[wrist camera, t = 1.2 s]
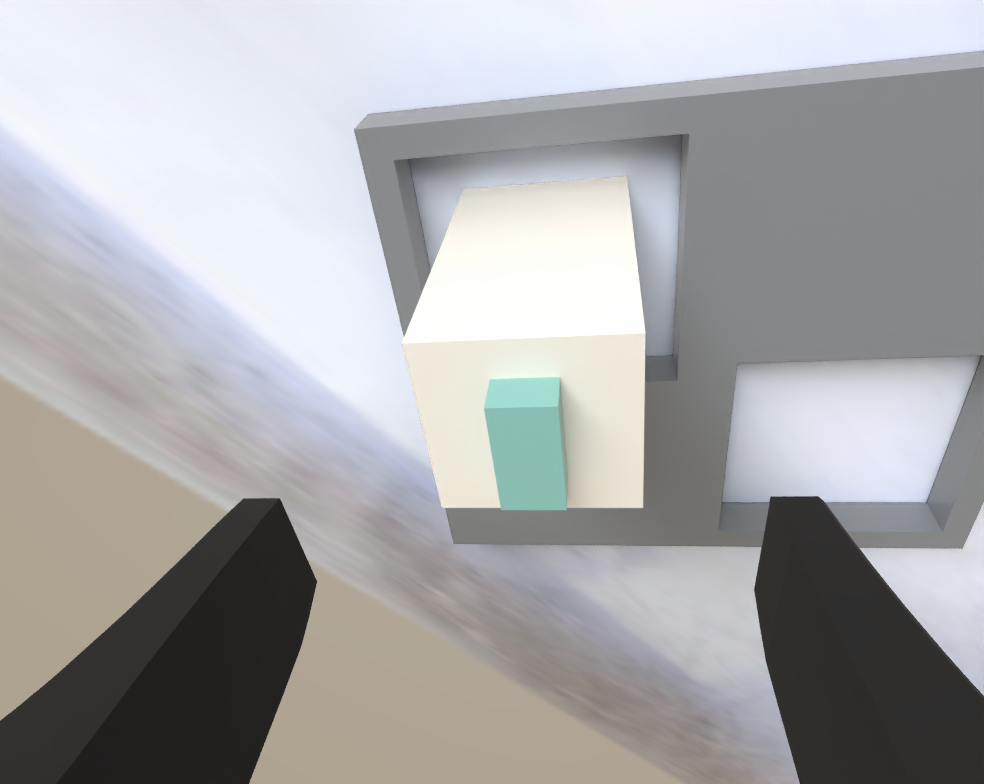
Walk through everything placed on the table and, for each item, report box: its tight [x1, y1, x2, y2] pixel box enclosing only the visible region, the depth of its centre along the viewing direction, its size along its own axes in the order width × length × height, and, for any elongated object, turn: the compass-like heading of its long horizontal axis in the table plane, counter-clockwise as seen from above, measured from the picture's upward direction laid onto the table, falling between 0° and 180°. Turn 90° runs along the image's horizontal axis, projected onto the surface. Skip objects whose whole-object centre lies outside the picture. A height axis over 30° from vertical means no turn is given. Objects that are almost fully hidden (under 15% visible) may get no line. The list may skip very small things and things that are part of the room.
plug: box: [402, 176, 645, 510], centre depth 15 cm, size 4×4×8 cm
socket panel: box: [354, 51, 984, 549], centre depth 18 cm, size 16×14×1 cm
